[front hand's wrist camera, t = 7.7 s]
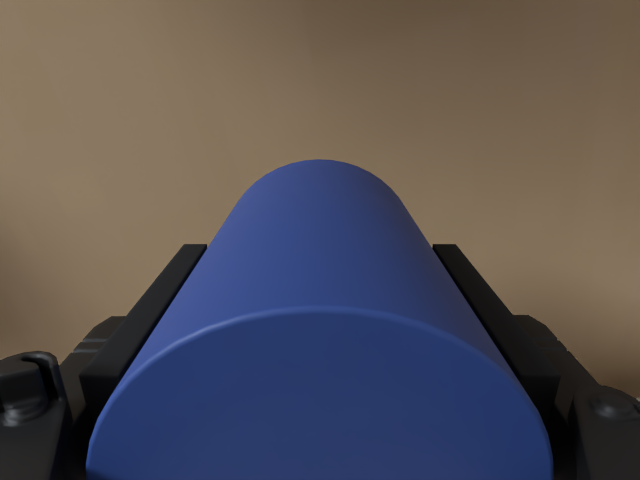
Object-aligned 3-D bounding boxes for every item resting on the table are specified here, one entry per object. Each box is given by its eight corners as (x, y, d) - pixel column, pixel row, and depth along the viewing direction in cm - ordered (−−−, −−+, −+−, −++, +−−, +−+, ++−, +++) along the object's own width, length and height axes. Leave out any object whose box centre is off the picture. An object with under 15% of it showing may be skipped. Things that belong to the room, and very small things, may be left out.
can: (453, 218, 16) (662, 441, 6) (353, 361, 18) (391, 682, 9) (277, 120, 15) (194, 207, 5) (194, 287, 17) (27, 569, 7)
